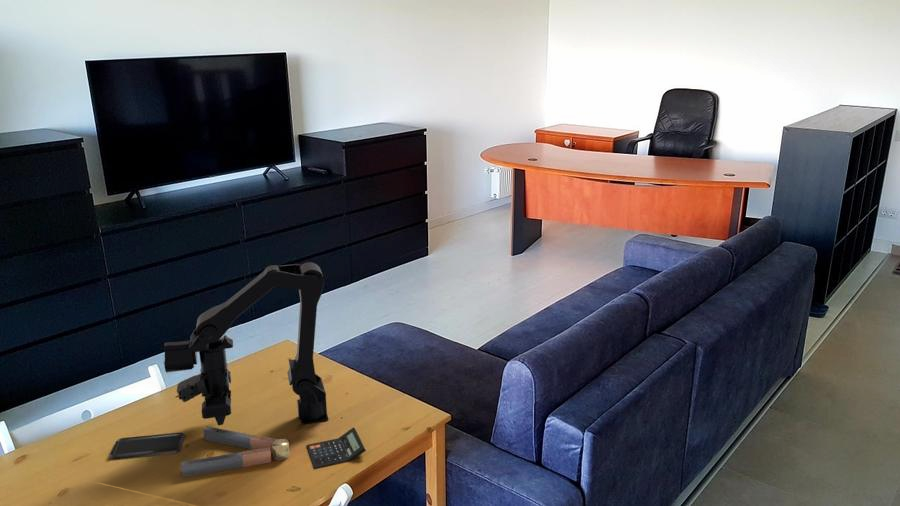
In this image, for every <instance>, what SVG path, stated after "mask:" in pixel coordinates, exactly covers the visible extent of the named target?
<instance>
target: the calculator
mask: <svg viewBox="0 0 900 506" xmlns="http://www.w3.org/2000/svg"><path fill="white" fill-rule="evenodd" d="M306 448H307V451H308V454H309V456H310V457H309V458H310V459H311V462H312V466H313V469H320V468H324V467H329V466H333V465H339V464H343V463H347V462H352V461H353V460H355V459H357V458H358V457H359V456H361V455H362V454H364V452H365V453H366V451H367V450H366V448H365V446H364V444H363V441H362V440H361V438H360V436H359V434H358V432H357V430H356V428H355V427H354V426H353V427H352V428H350V429H349V430H348V431H346V432H345V433H344V434H342V435H341V436H339V437H337V438H334V439H329V440H323V441H318V442H314V443H310V444H306Z"/></svg>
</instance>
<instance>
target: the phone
mask: <svg viewBox="0 0 900 506" xmlns="http://www.w3.org/2000/svg"><path fill="white" fill-rule="evenodd" d="M184 440H185V433H184V432H172V433H161V434H160V433H159V434H152V435H150V434H149V435H139V436H131V437H130V436H129V437H121V438H118V439H117V440H116V441H115V443H114V444H113V447H112V449H111V451H110V453H109V459H110V460H121V459H123V460H125V459H130V458H131V459H133V458H138V457H149V456H157V455H169V454H171V455H172V454H177V453H179V452H180V451H181V448H182V446H183V443H184Z"/></svg>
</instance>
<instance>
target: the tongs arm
mask: <svg viewBox="0 0 900 506" xmlns="http://www.w3.org/2000/svg"><path fill="white" fill-rule="evenodd" d="M202 430H203V436H204V441H208V442H213V443H218V444H223V445H229V446H233V447H238V448H243V449H249V450H256V449H262V448H268V447H270V452H271V454H272V458H273V460H275V461H284V460H287V459H288V458H289V457H290V456H291V455H290V443H289V440H288V439H286V438H279V439H277V438H271V437H267V436H266V437H265V436H262V435H256V434H249V433H244V432H240V431H234V430H227V429H222V428H218V427H214V426H208V425H207V426H206V427H205V428H203V429H202Z"/></svg>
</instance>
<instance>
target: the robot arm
mask: <svg viewBox="0 0 900 506" xmlns="http://www.w3.org/2000/svg"><path fill="white" fill-rule="evenodd" d="M324 285H325V276H324V275H323V272H322V269H321V267H320V266H319V265H318V264H316V263H315V262H311V261H309V262H308V261H307V262H304V263H302V264H296V263H292V264H284V265H275V264H273V265H268V266H266V267H265V269H264V270H263V271H262V272H261V273H260V274H258V275H257V276H256V277H255V278H254V279H252V280H251V281H250V282H248V283H247V284H246V285H245V286H244V287H242V288H241V289H240V290H239V291H238V292H236V293H235V294H234V295H233V296H231V297H230V298H229V299H227V300H226V301H225V302H222V303H220V304H219V305H215V306H213V307H211V308H209V309H207V310H206V311H204V312H202V313H201V314H200V315H199V316H198V318H197V319H196V320H197V321H196V326H195V327H196V328H194V330H193V332H192V334H191V335H190V340H182V341H176V342H175V341H168V342H164V346H163V347H164V360H163V361H164V362H163V365H164V371H165V373H167V374H168V373H173V372H180V371H188V370H189V371H191V370H193V369H195V365H198V354H199V361H200V373H198V374H196V375H193V376H190V377H188V378H186V379H184V380H182V381H181V380H180V382H179V383H178V384H177V386H176V393H177V394H178V399H179V400H180V401H181V400H182V402H183V403H186V402H188V401H190V400H192V399H195V397H198V396H200V395H201V397H203V399H204V400H203V402H202V403H201V418H202V419H203V420H206V419H214V418H215V419H214V420H215V421H216V424H217V425H218V426H223V425H224V423H225V420H226V418H227V417H228V416H230V415H232V398H231V397H232V391H231V389H230V384H232V375H231V371H230V370H228V368H229V365H228V362H227V354H226V349H233V347H234V339H232V338H230V337H228V336H227V334H226V333H227V332H228V331H229V330H230V328H231V327H232V325H233V323H234V322H235V320H237V318H238V317H240V316H241V315H242V314H243V313H244V312H246V311H247V310H248V309H249V308H250V307H252V306H253V305H254V304H255V303H257V302H259V300H260V299H262V298H263V297H264V296H266V295H267V294H268V293H269V292H270V291H272V290H273V289H274V288H275V287H280V288H285V289H290V290H294V291H295V290H296V291H298V293H299V300H300V303H299V317H298V329H297V330H298V331H297V347H296V355H295V356H294V359H291V358H290V359H288V365H289V366H288V367H289V368H288V370H287V379H288V383H289V384H288V385H289V386H291V388H292V391H293V393H294V394H295V395H297V396H298V399H297V400H296V404H297V406H296V407H297V416H298V419H299V420H300V422H301V425H309V424H316V423H323V422H328V421H329V417H328V410H327V409H328V408H327V406H328V405H327V392H326V389H325V385H324V383H323V382H324V381H323V379H322V377H321V376H320V375H318V374H317V373H316V371H315V364H314V350H315V337H316V325H317V322H316V321H317V310H318V305H319V301H320V299H321V297H322V293H323V290H324ZM197 353H198V354H197Z"/></svg>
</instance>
